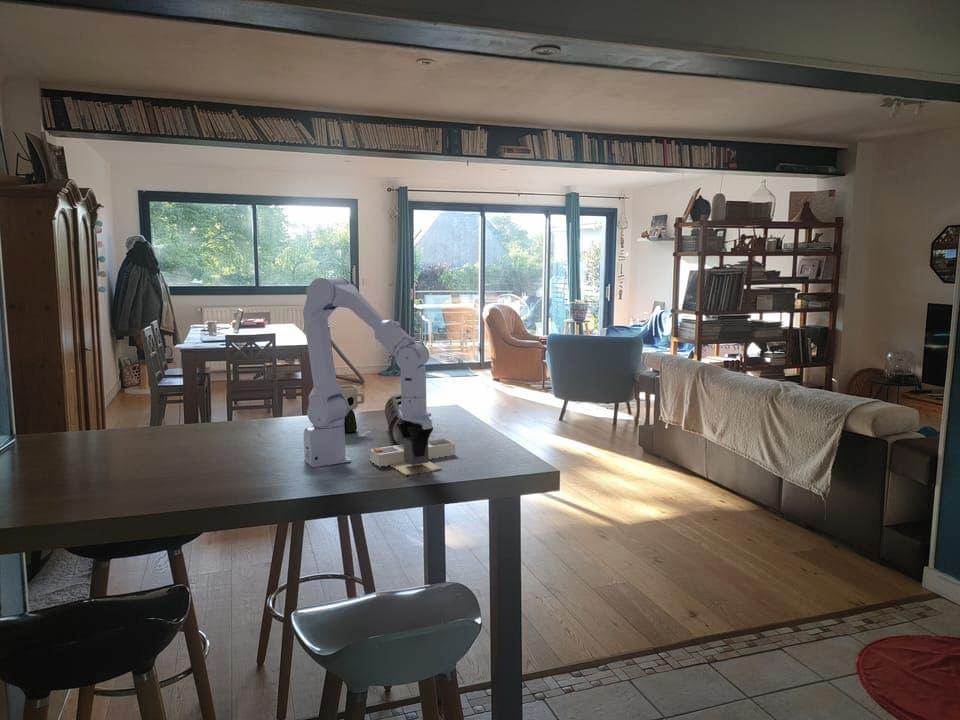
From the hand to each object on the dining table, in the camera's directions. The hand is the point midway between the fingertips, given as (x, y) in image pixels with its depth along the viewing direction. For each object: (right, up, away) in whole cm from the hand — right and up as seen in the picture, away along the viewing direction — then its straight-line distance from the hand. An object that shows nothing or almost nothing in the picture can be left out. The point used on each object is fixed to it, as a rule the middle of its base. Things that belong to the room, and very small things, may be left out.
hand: (415, 453), depth 158 cm
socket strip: (-1, -2, +9) cm, 9 cm away
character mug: (-23, +1, +37) cm, 44 cm away
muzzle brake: (-5, 0, +28) cm, 28 cm away
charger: (0, -2, 0) cm, 2 cm away
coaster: (0, -3, 0) cm, 3 cm away
